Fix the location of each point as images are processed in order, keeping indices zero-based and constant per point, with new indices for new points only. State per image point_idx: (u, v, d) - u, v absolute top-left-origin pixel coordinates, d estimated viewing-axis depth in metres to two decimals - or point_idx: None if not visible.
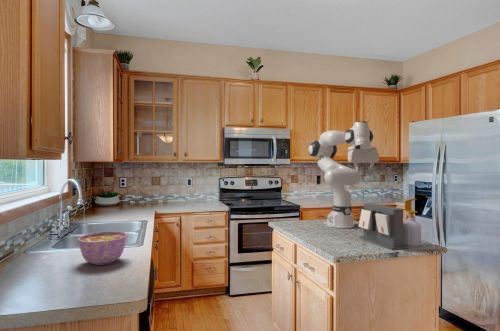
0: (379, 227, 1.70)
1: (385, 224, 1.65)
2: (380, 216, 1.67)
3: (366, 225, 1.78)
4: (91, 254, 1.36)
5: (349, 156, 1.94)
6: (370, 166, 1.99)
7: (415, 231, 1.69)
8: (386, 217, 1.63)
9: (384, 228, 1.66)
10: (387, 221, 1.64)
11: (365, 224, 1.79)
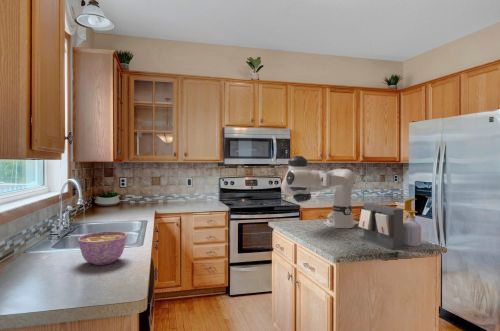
0: (379, 227, 1.70)
1: (385, 224, 1.65)
2: (380, 216, 1.67)
3: (366, 225, 1.78)
4: (91, 254, 1.36)
5: (338, 180, 1.54)
6: None
7: (415, 231, 1.69)
8: (386, 217, 1.63)
9: (384, 228, 1.66)
10: (387, 221, 1.64)
11: (365, 224, 1.79)
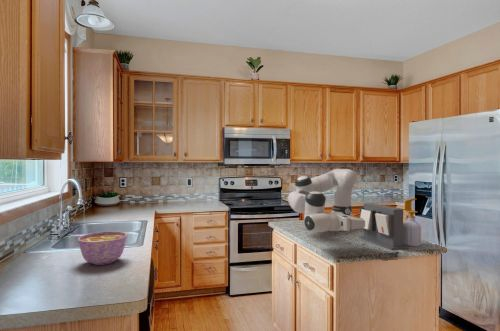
0: (379, 227, 1.70)
1: (385, 224, 1.65)
2: (380, 216, 1.67)
3: (366, 225, 1.78)
4: (91, 254, 1.36)
5: (359, 224, 1.52)
6: None
7: (415, 231, 1.69)
8: (386, 217, 1.63)
9: (384, 228, 1.66)
10: (387, 221, 1.64)
11: (365, 224, 1.79)
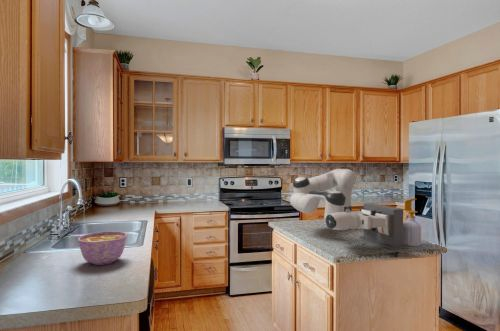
0: (379, 227, 1.70)
1: None
2: (380, 216, 1.67)
3: None
4: (91, 254, 1.36)
5: (380, 222, 1.55)
6: None
7: (415, 231, 1.69)
8: (386, 217, 1.63)
9: (384, 228, 1.66)
10: (387, 221, 1.64)
11: None
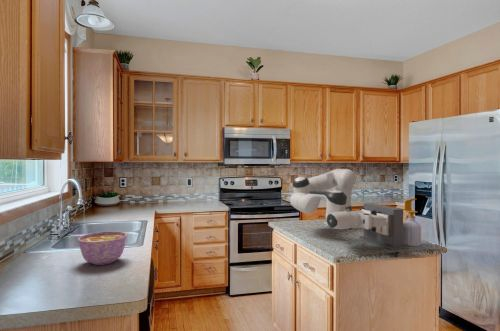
0: (378, 227, 1.70)
1: None
2: (382, 215, 1.67)
3: None
4: (91, 254, 1.36)
5: (381, 222, 1.55)
6: None
7: (415, 231, 1.69)
8: (388, 217, 1.64)
9: (383, 228, 1.66)
10: (388, 221, 1.64)
11: None
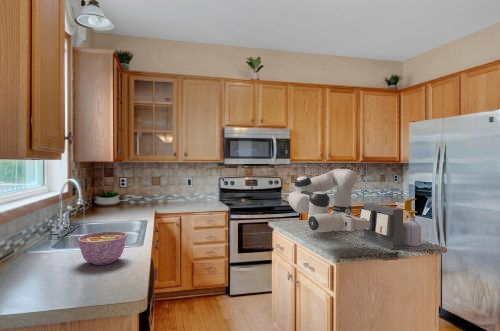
0: (378, 227, 1.69)
1: (385, 223, 1.65)
2: (382, 215, 1.67)
3: None
4: (91, 254, 1.36)
5: (363, 224, 1.52)
6: None
7: (415, 231, 1.69)
8: (388, 217, 1.64)
9: (383, 228, 1.66)
10: (388, 221, 1.64)
11: None
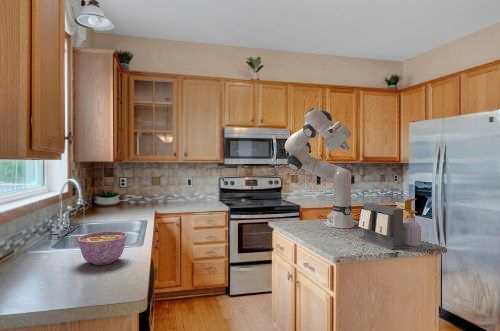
0: (378, 227, 1.69)
1: (385, 223, 1.65)
2: (382, 215, 1.67)
3: (366, 225, 1.78)
4: (91, 254, 1.36)
5: (345, 131, 1.65)
6: (343, 148, 1.74)
7: (415, 231, 1.69)
8: (388, 217, 1.64)
9: (383, 228, 1.66)
10: (388, 221, 1.64)
11: (365, 224, 1.79)
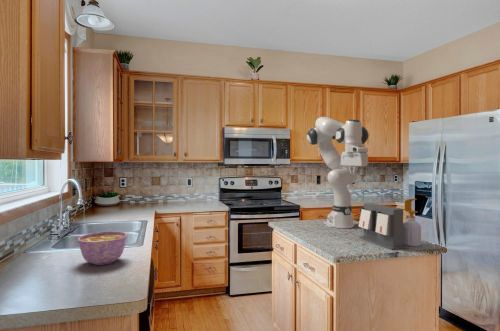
0: (378, 227, 1.69)
1: (385, 223, 1.65)
2: (382, 215, 1.67)
3: (366, 225, 1.78)
4: (91, 254, 1.36)
5: (364, 159, 1.67)
6: (351, 170, 1.78)
7: (415, 231, 1.69)
8: (388, 217, 1.64)
9: (383, 228, 1.66)
10: (388, 221, 1.64)
11: (365, 224, 1.79)
